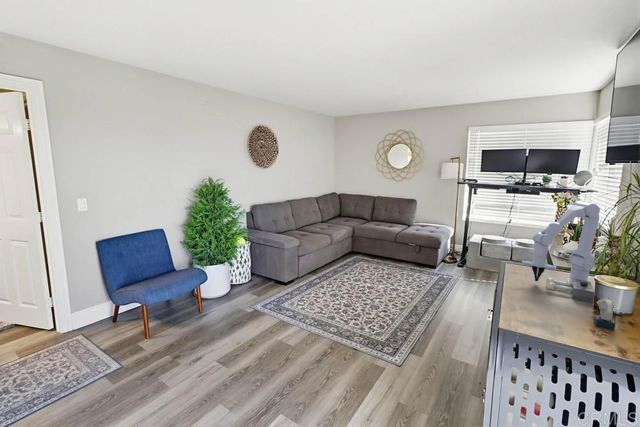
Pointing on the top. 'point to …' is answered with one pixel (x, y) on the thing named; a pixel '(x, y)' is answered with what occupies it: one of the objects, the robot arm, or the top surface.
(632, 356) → the top surface
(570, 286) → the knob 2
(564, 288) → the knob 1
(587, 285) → the mount
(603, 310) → the grey bust statue
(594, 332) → the top surface
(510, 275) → the top surface
